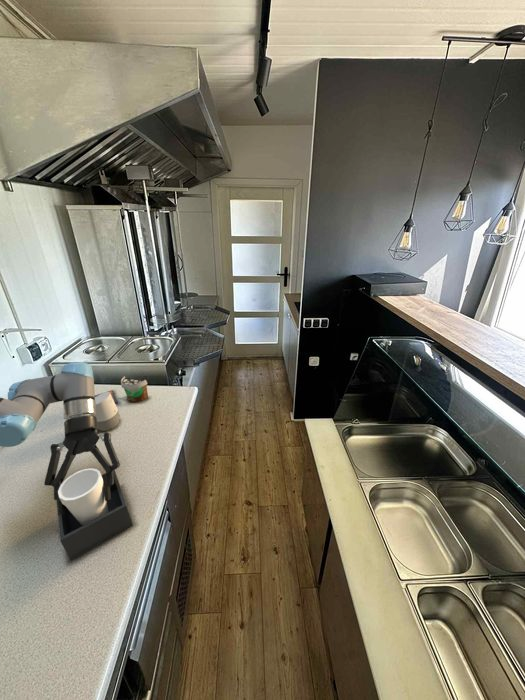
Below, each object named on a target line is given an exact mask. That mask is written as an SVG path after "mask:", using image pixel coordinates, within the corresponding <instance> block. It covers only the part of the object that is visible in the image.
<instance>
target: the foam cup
mask: <svg viewBox="0 0 525 700" xmlns="http://www.w3.org/2000/svg"><path fill="white" fill-rule="evenodd" d="M101 475H102V473H101V471H100V470H99V469H97V468H95V467H94V468H93V467H92V468H91V467H90V468H84V469H81V470H78V471H75V472H74V473H72V474H71V475H69V476H67V478H66V479H64V480H63V482H62V484H61V486H60V488H59V490H58V495H59V498H60V500H61V502H62V504H63V505H65V506H66V507H67V508H68V510H69V511H70V512H71V513H72V514H73V516H74V517H75V518H76V519H77V520H78V522H79V523H80V524H81V525H82V526H84V525H86V524H87V523H89V522H91V521H93V520H95V519H97V518H99V517H101V516H103V515H105V514H106V513H108V505H107V501H105V494H104V481H103V478H102V476H101Z"/></svg>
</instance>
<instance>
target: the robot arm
mask: <svg viewBox="0 0 525 700" xmlns="http://www.w3.org/2000/svg"><path fill="white" fill-rule="evenodd" d="M60 371H61V372H60V373H58V374H53V375H49V376H48V375H47V376H43V377H37V378H28V379H24V380H20V381H17V382H13V383H12V384H11V385H10V386H9V388H8V392H7V398H3V397H1V396H0V447H2V448H12V447H16V446H20V445H21V444H22V443H24V442H26V440H27V439H28V438H29V436H30V435H31V434H32V432H34V430H35V429H36V427H37V425H38V423H39V421H40V419H41V417H42V416H43V414H45V412H46V410H47V408H48V407H49V405H50V404H55V403H59V402H62V403H63V419H64V420H65V421H64V422H63V428H64V439H63V441H62V442H58V443H52V444H51V445H50V453H51V454H50V459H49V462H48V466H47V470H46V474H45V478H44V486H49V487H53V500H54V501H56V500H58V503H59V514H62V513H65V512H67V507H66V506H65V505H63V504H62V502H61V500H60V498H59V495H58V490H59V488H60V486H61V484H62V483H63V482H64V481H65V478H66V477H67V474H68V472H69V470H70V468H71V465H72V464H73V461H74V459H75V458H76V456H77V455H81V454H83V453H91V454H92V455H93V457H94V458H95V460H97V462H98V463H99V464H100V466H101V467H102V469H103V470H104V471H105V473H106V474H105V473H102V474H103V481H104V494H105V501H108V500H110V499H111V491H110V485H113V484H114V477H113V471H114V470H115V471H116V469H119V468H120V467H121V462H120V460H119V458H118V455H117V452H116V450H115V447H114V445H113V443H112V434H111V432H107V431H106V432H104V433H100V432H99V431H98V429H97V417H95V416H94V415H95V414H96V404H95V395H96V394H95V378H94V372H93V367H92V365H91V364H89V363H87V362H81V361H80V362H79V361H77V362H70V363H67V364H64V365H63V366H62V367H61V370H60ZM99 440H101V442H103V444H104V447H105V449H106V452H107V454H108V456H109V460H110V462H111V464H110V462H109V461H108V460H107V458H106V457H105V456H104V454H103V453H102V452H101V450H100V448H99V447H98V446H97V443H98V442H99ZM64 447H65V449H67V452H66V454H65V456H64V459H63V461H62V464H61V466H60V467H59V463H60V459H61V452H62V451H63V449H64ZM58 467H59V470H58Z"/></svg>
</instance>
